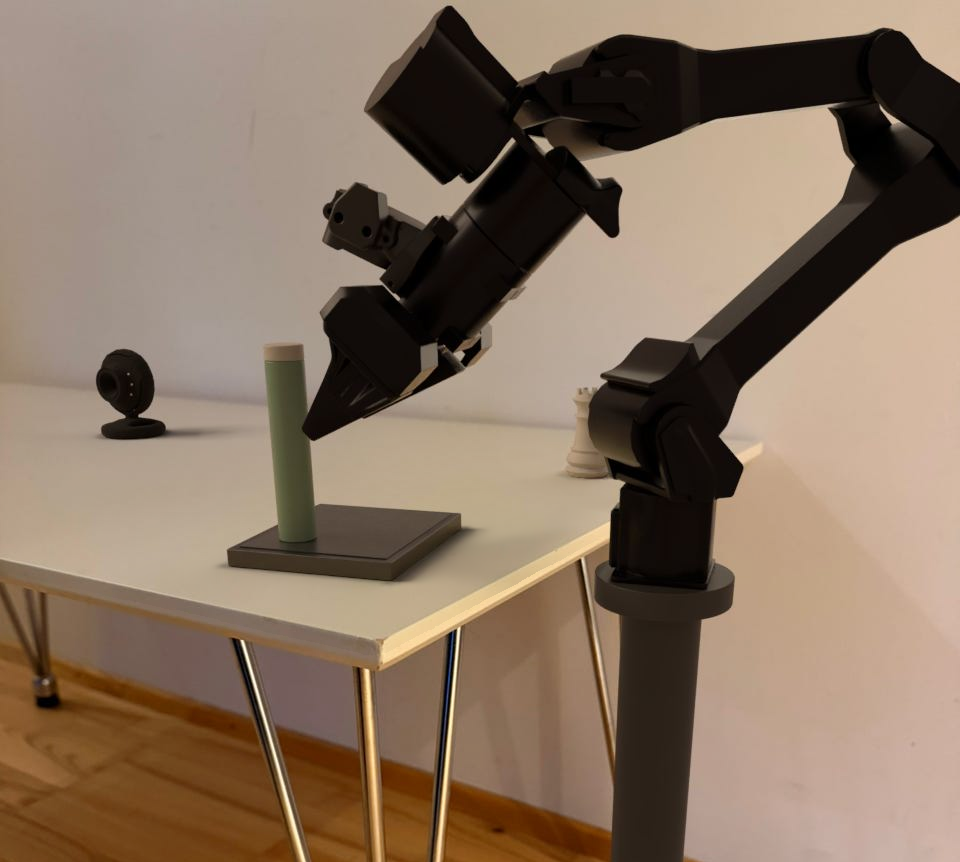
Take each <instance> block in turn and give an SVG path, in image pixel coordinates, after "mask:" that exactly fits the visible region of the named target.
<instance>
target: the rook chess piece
mask: <svg viewBox="0 0 960 862" xmlns="http://www.w3.org/2000/svg"><path fill="white" fill-rule="evenodd" d="M597 391H598V386H597V387H594V386H592V387H591V390H589V387H587V386H584V387H578V388H576V394H575V395H574V396H573V397H572V401H573V403H574V404H575V406H576V409H577V411H576V413H575V414H574V417H575V418H576V427H575V434H574V439H573V443H572V446H570V451H569V452H568V453H567V454H566V457H565V461H566V462H567V466H565V467H564V471H565V472H566V473H567V475H568V476H571V477H575V478H583V479H597V478H602V477H603V478H604V477H606V476H608V475H609V472H608V469H607V465H606V462H605V459H604V456H603V455H602V454H601V453H600V452H599V451H598V450H597V449H596V448H595V447H594V445H593V443H592V441H591V438H590V436H589V430H588V416H589V407H588V406H589V403H590V401H591V399H592V397H593V395H594V394H595V393H596V392H597Z"/></svg>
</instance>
